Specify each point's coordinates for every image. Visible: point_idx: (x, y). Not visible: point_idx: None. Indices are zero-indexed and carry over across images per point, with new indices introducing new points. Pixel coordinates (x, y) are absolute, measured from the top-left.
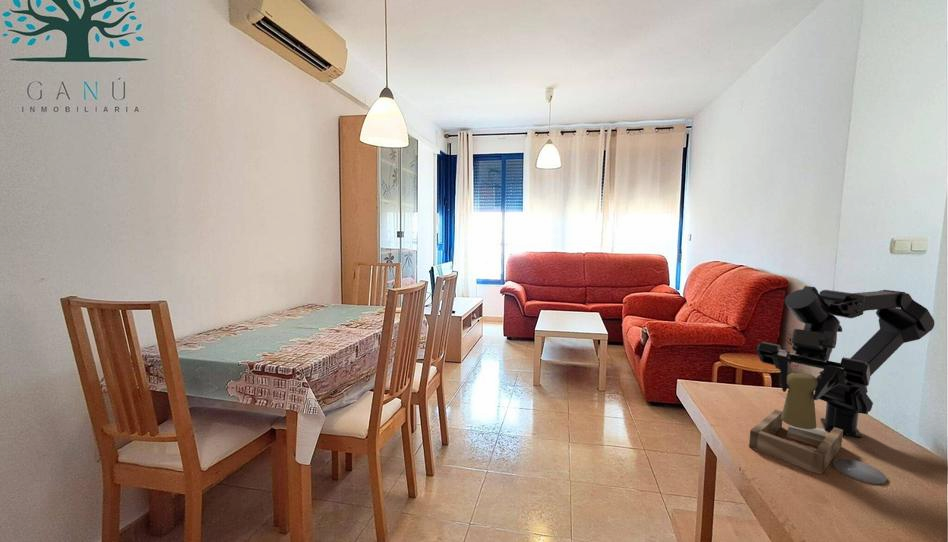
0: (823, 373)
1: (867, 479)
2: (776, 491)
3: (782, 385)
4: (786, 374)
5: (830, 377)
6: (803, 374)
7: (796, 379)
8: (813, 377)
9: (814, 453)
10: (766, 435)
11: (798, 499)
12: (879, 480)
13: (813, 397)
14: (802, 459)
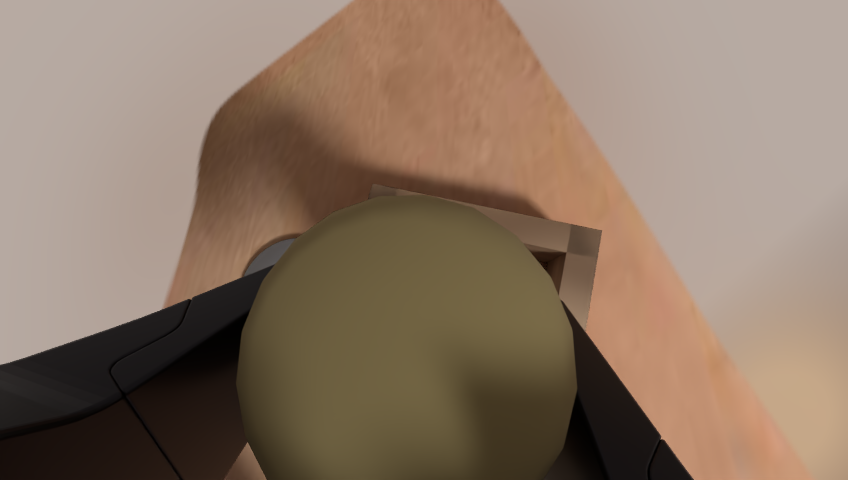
0: (54, 416)
1: (285, 245)
2: (482, 46)
3: (573, 316)
4: (594, 434)
5: (27, 361)
6: (374, 337)
7: (464, 209)
8: (258, 325)
9: (395, 188)
10: (542, 221)
11: (439, 47)
12: (259, 261)
13: None
14: None
